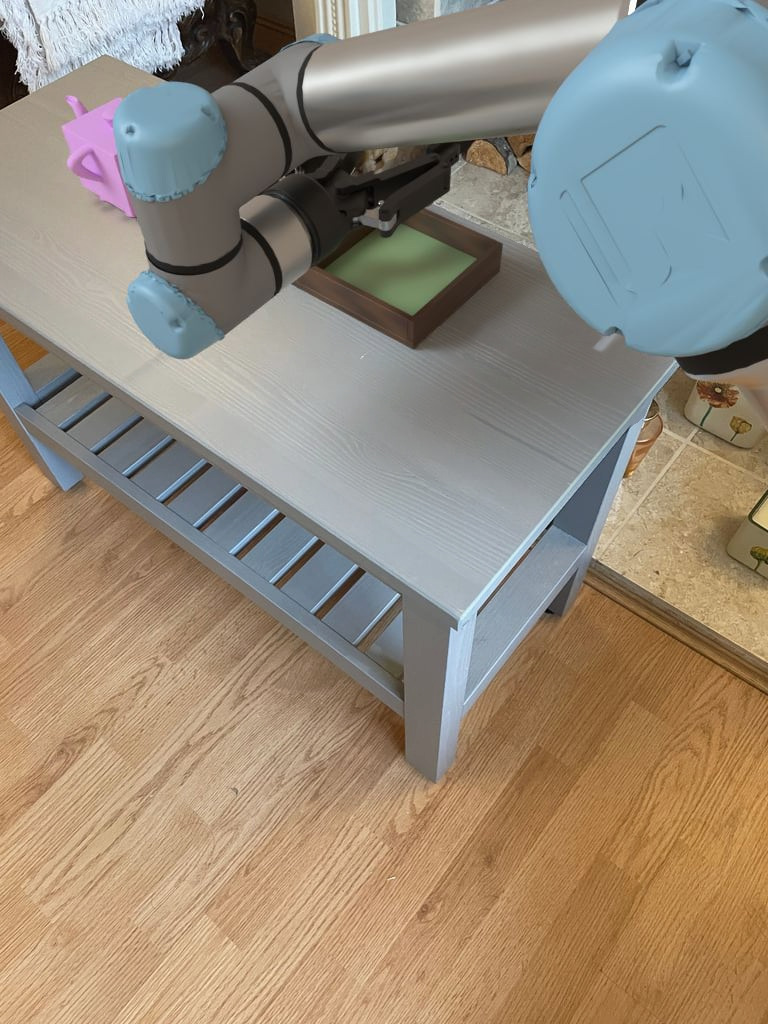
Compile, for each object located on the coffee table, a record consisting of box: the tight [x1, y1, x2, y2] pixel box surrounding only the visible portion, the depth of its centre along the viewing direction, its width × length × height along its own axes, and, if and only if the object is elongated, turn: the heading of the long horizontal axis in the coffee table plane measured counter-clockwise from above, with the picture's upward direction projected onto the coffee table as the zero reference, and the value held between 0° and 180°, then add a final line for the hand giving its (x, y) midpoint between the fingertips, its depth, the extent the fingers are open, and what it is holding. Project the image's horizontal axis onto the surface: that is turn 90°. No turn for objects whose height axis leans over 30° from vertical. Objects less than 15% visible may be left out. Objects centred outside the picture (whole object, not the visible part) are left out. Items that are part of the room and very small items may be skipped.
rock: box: [350, 144, 434, 209], centre depth 81 cm, size 12×7×10 cm, turn 136°
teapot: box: [61, 95, 137, 218], centre depth 100 cm, size 15×13×11 cm
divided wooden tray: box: [242, 174, 504, 350], centre depth 95 cm, size 32×17×4 cm, turn 51°
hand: (439, 120), depth 81 cm, fingers closed on rock, 6 cm apart
